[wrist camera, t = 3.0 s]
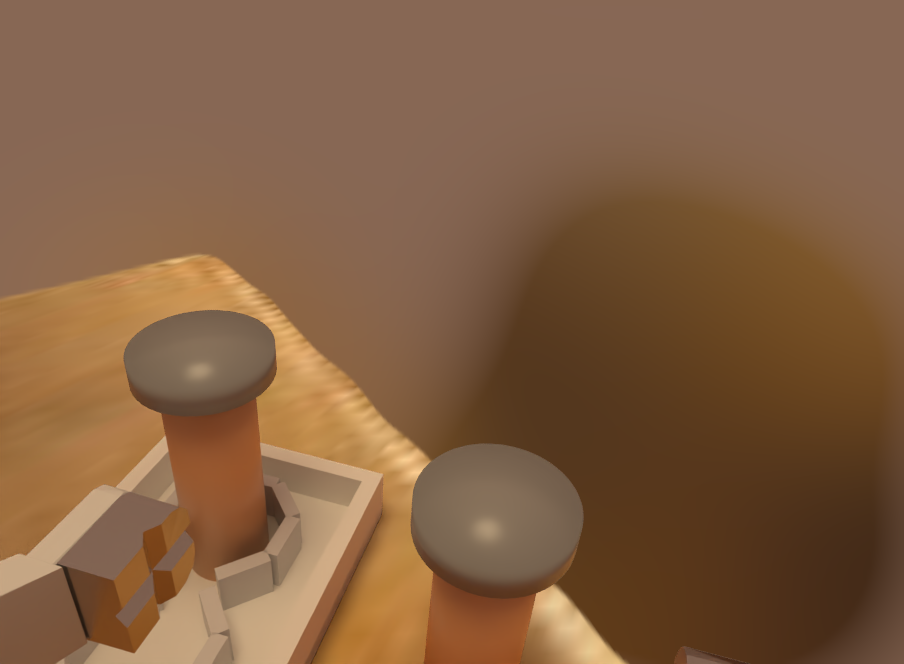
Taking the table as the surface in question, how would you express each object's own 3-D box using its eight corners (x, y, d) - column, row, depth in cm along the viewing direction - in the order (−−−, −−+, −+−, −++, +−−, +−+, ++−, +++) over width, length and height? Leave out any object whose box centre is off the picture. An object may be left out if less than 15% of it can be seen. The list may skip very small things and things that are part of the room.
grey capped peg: (162, 523, 40) (119, 322, 33) (274, 494, 43) (259, 302, 35) (175, 615, 35) (128, 404, 28) (301, 576, 38) (289, 373, 31)
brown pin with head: (379, 666, 35) (387, 465, 28) (492, 623, 38) (528, 429, 30) (430, 798, 30) (457, 597, 23) (556, 738, 33) (618, 541, 25)
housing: (208, 878, 27) (198, 839, 25) (-83, 766, 30) (-112, 723, 28) (381, 514, 44) (383, 474, 42) (185, 461, 46) (178, 421, 44)
